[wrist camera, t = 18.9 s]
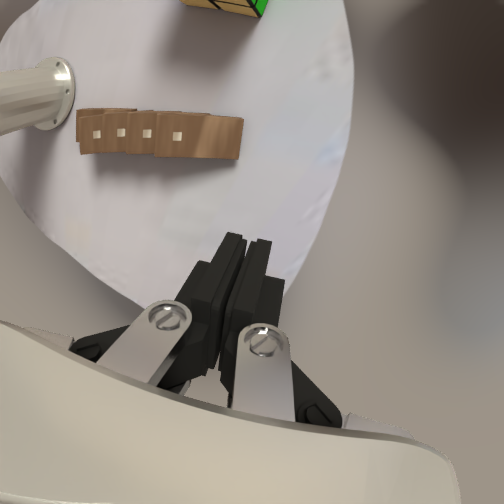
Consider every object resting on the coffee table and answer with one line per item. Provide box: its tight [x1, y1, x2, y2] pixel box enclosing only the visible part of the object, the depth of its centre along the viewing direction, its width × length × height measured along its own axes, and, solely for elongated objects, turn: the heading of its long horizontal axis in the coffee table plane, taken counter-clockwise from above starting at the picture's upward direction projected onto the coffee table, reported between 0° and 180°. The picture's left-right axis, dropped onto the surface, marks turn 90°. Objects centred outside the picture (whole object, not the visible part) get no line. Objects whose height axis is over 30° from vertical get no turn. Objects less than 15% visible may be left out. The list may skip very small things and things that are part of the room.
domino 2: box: [79, 110, 153, 155], centre depth 34 cm, size 2×5×10 cm
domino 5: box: [155, 113, 244, 159], centre depth 33 cm, size 2×5×10 cm
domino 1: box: [76, 108, 137, 142], centre depth 36 cm, size 2×5×10 cm
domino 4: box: [126, 112, 211, 154], centre depth 33 cm, size 2×5×10 cm
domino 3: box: [102, 111, 181, 153], centre depth 33 cm, size 2×5×10 cm
